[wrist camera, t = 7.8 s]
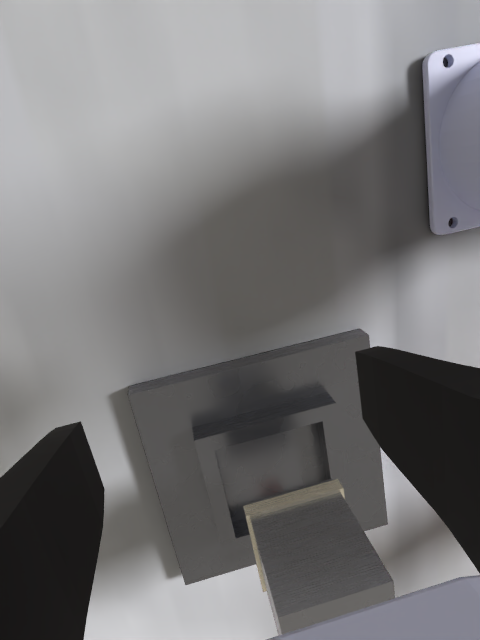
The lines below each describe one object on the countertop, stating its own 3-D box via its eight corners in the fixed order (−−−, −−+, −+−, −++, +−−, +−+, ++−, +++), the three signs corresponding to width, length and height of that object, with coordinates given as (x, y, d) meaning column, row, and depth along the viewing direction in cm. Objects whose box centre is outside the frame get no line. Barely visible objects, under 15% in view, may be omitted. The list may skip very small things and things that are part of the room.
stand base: (360, 328, 23) (402, 359, 19) (379, 512, 27) (418, 569, 23) (129, 386, 22) (122, 431, 18) (184, 570, 26) (189, 641, 22)
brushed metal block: (335, 474, 19) (397, 576, 14) (345, 548, 20) (405, 664, 15) (241, 500, 18) (272, 615, 14) (258, 574, 20) (292, 703, 15)
